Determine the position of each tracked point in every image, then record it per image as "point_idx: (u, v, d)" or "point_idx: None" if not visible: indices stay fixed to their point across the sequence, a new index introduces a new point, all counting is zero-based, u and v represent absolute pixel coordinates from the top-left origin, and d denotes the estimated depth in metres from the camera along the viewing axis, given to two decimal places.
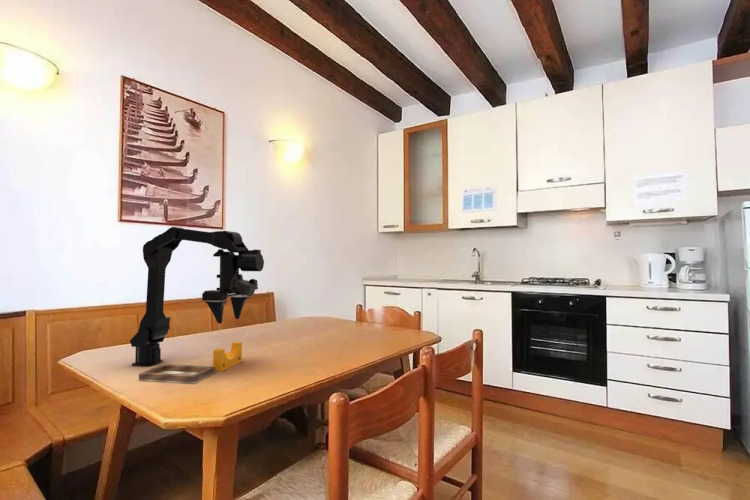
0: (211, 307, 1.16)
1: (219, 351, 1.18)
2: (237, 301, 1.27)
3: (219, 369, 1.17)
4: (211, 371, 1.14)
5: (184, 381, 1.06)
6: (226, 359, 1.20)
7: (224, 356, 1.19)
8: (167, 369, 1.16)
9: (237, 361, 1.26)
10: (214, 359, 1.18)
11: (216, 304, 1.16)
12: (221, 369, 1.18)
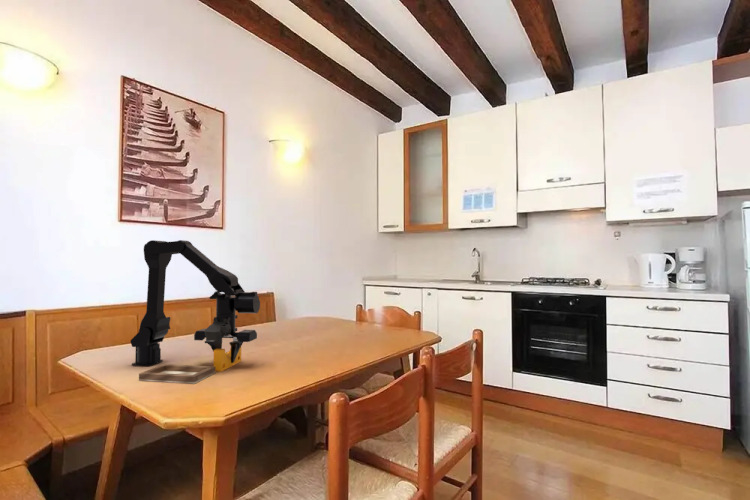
0: None
1: (219, 351, 1.17)
2: None
3: (220, 369, 1.17)
4: (211, 371, 1.14)
5: (184, 381, 1.06)
6: (226, 359, 1.20)
7: (224, 356, 1.19)
8: (167, 369, 1.16)
9: (237, 361, 1.26)
10: (214, 359, 1.18)
11: None
12: (221, 369, 1.18)
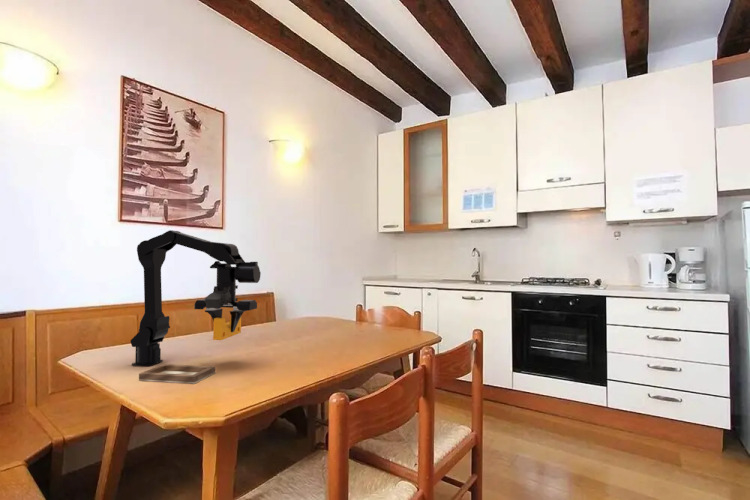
0: None
1: (220, 319, 1.18)
2: None
3: (219, 337, 1.18)
4: (211, 371, 1.14)
5: (184, 381, 1.06)
6: (226, 328, 1.20)
7: (224, 325, 1.19)
8: (167, 369, 1.16)
9: (236, 331, 1.27)
10: (214, 327, 1.18)
11: None
12: (221, 337, 1.18)
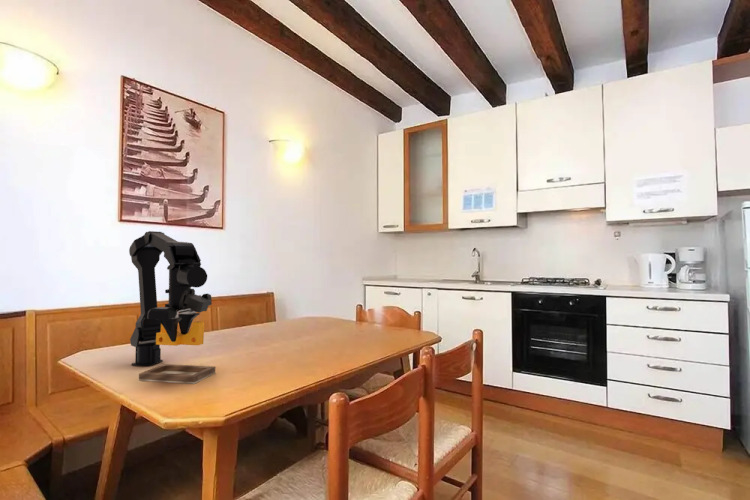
0: (164, 324, 1.09)
1: (203, 322, 1.13)
2: (184, 318, 1.15)
3: (202, 341, 1.13)
4: (211, 371, 1.14)
5: (184, 381, 1.06)
6: None
7: None
8: (167, 369, 1.16)
9: None
10: (199, 332, 1.12)
11: (169, 321, 1.09)
12: None
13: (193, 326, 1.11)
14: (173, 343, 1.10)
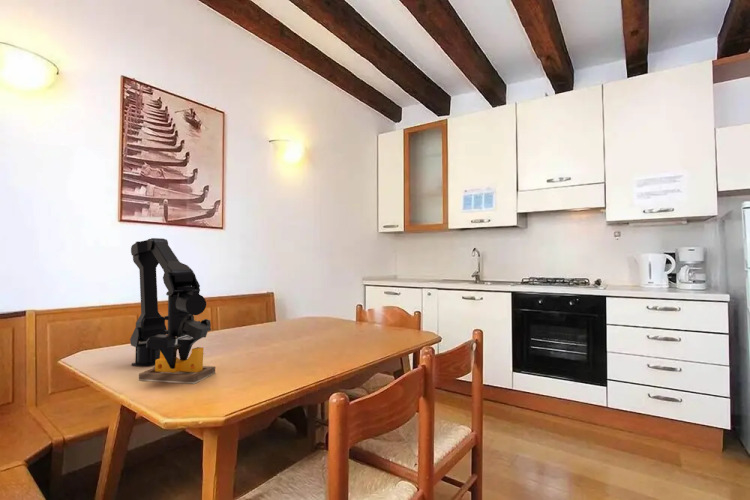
0: (163, 351, 1.09)
1: (202, 348, 1.13)
2: (183, 344, 1.15)
3: (201, 367, 1.13)
4: (211, 371, 1.14)
5: (184, 381, 1.06)
6: None
7: None
8: None
9: None
10: (198, 358, 1.11)
11: (168, 348, 1.09)
12: None
13: (192, 353, 1.11)
14: (172, 370, 1.10)
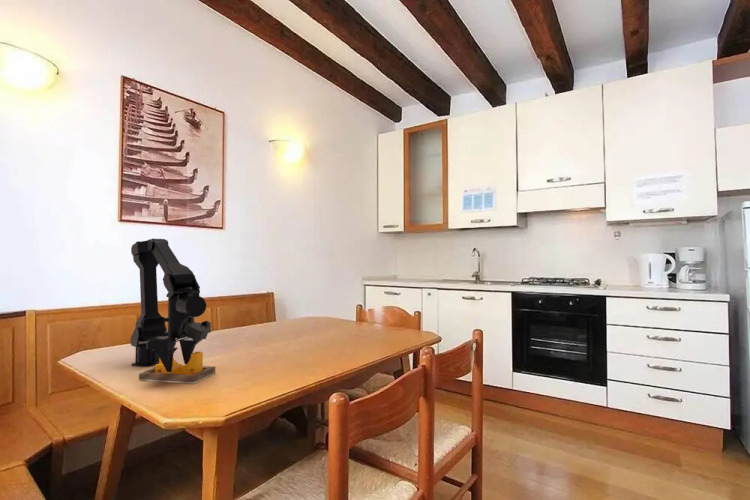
0: (159, 355, 1.07)
1: (201, 353, 1.13)
2: (187, 345, 1.16)
3: None
4: (211, 371, 1.14)
5: (184, 381, 1.06)
6: None
7: None
8: None
9: None
10: (198, 363, 1.11)
11: (165, 351, 1.07)
12: None
13: (191, 357, 1.11)
14: None
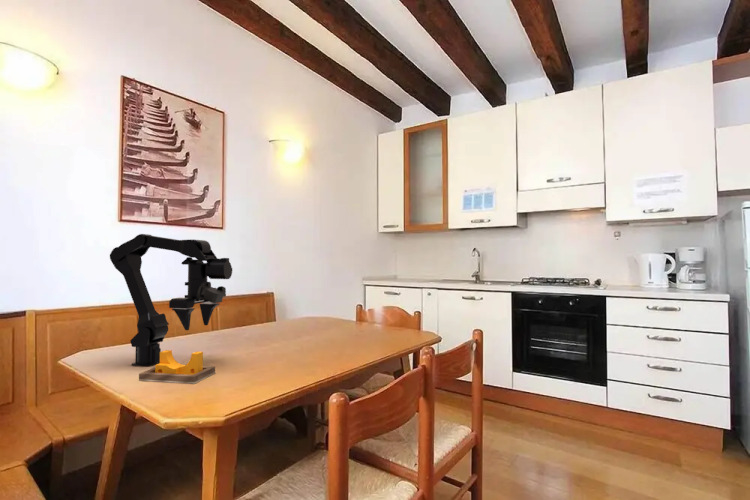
0: (178, 314, 1.19)
1: (202, 353, 1.13)
2: (206, 308, 1.30)
3: None
4: (211, 371, 1.14)
5: (184, 381, 1.06)
6: None
7: None
8: None
9: None
10: (198, 363, 1.11)
11: (183, 311, 1.19)
12: None
13: (192, 357, 1.11)
14: None
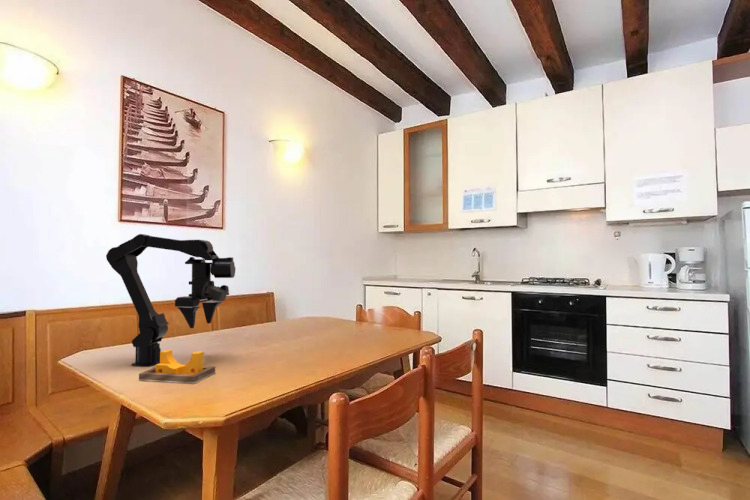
0: (183, 313, 1.22)
1: (202, 353, 1.13)
2: (209, 306, 1.33)
3: None
4: (211, 371, 1.14)
5: (184, 381, 1.06)
6: None
7: None
8: None
9: None
10: (198, 363, 1.11)
11: (188, 310, 1.22)
12: None
13: (192, 357, 1.11)
14: None
